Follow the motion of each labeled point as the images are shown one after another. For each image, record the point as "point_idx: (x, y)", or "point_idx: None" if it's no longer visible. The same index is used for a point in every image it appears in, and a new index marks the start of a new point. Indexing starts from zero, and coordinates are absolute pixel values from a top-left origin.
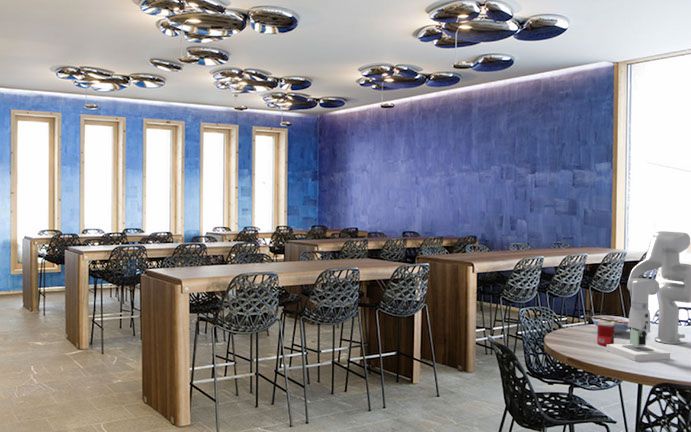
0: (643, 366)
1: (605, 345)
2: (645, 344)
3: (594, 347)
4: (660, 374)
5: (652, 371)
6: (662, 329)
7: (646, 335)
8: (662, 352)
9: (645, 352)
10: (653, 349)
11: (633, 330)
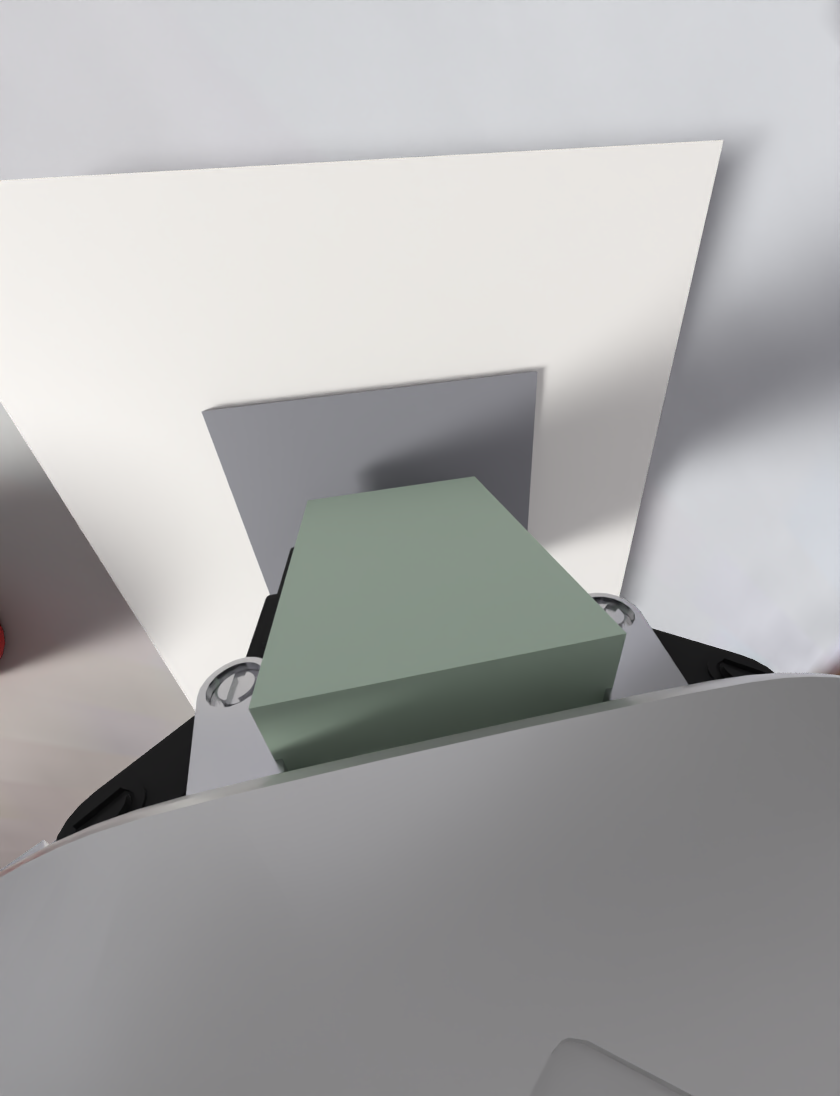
0: (690, 635)
1: (1, 651)
2: (480, 488)
3: (129, 741)
4: (836, 622)
5: (780, 635)
6: None
7: (632, 608)
8: (654, 300)
9: (575, 544)
10: (471, 319)
11: None
